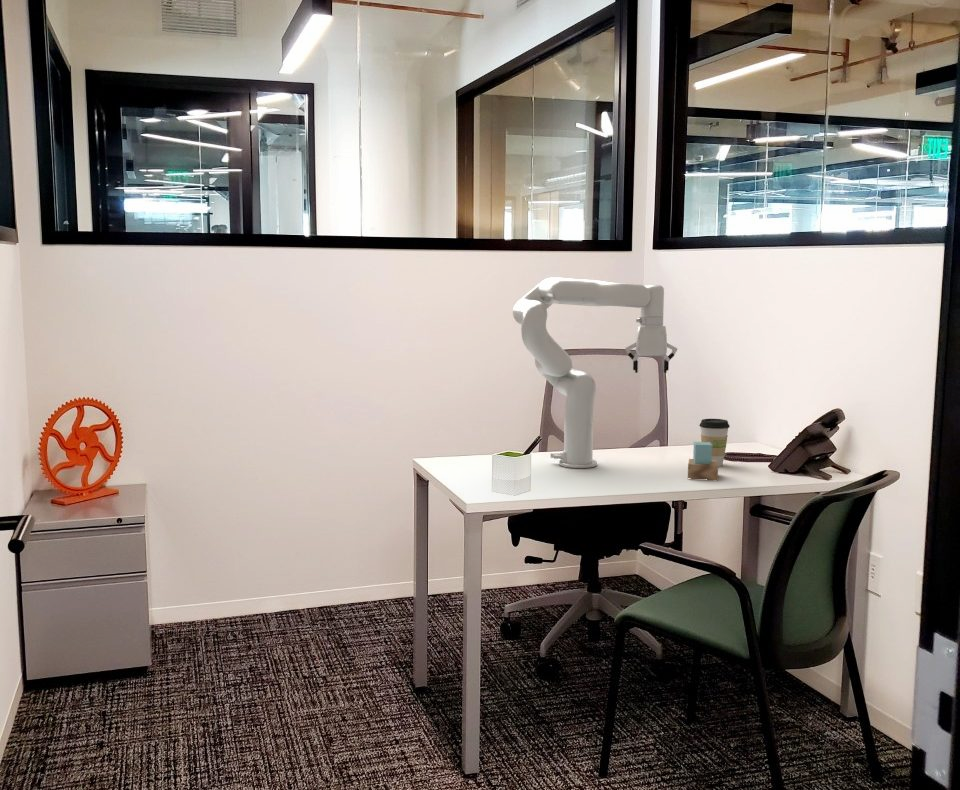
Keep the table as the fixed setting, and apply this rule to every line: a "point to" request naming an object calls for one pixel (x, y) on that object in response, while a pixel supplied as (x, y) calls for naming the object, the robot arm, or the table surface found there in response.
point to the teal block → (702, 453)
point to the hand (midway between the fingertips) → (650, 372)
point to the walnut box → (703, 470)
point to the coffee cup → (715, 437)
